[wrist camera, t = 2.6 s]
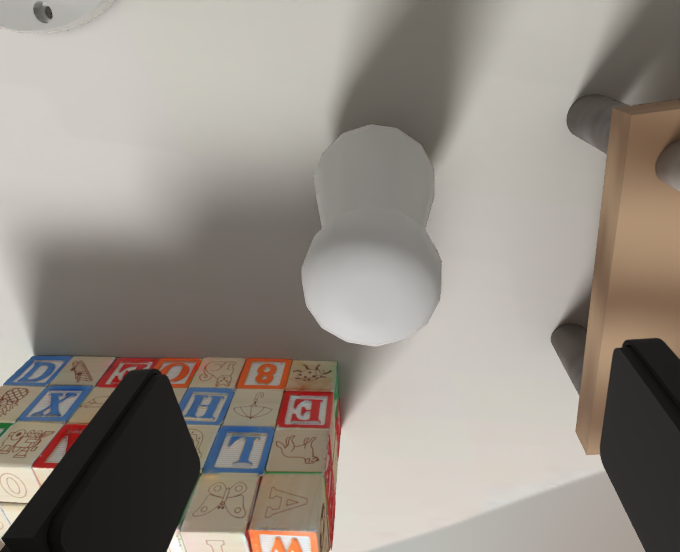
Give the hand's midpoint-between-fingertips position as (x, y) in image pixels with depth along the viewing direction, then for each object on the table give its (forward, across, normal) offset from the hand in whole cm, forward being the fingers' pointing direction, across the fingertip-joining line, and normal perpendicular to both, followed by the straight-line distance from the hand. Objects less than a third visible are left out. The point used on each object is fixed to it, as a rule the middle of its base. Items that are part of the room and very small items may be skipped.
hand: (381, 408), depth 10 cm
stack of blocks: (+17, +15, +13) cm, 27 cm away
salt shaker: (+17, 0, -1) cm, 17 cm away
